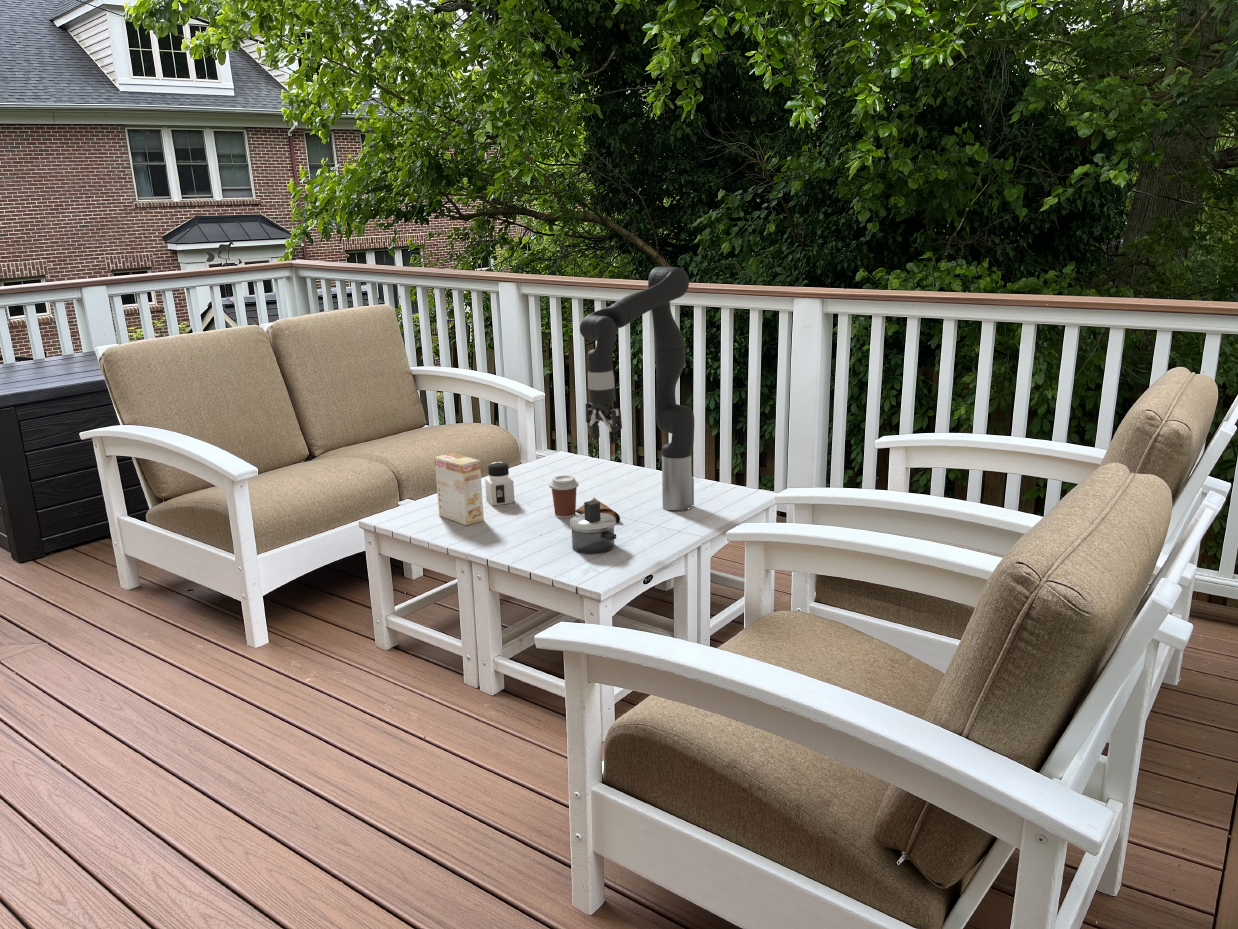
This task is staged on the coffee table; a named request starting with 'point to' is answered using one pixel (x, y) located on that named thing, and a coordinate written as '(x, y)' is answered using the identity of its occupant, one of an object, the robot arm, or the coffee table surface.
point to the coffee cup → (564, 495)
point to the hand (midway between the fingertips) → (604, 440)
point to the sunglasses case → (601, 510)
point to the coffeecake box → (459, 488)
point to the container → (499, 484)
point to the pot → (593, 541)
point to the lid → (592, 518)
